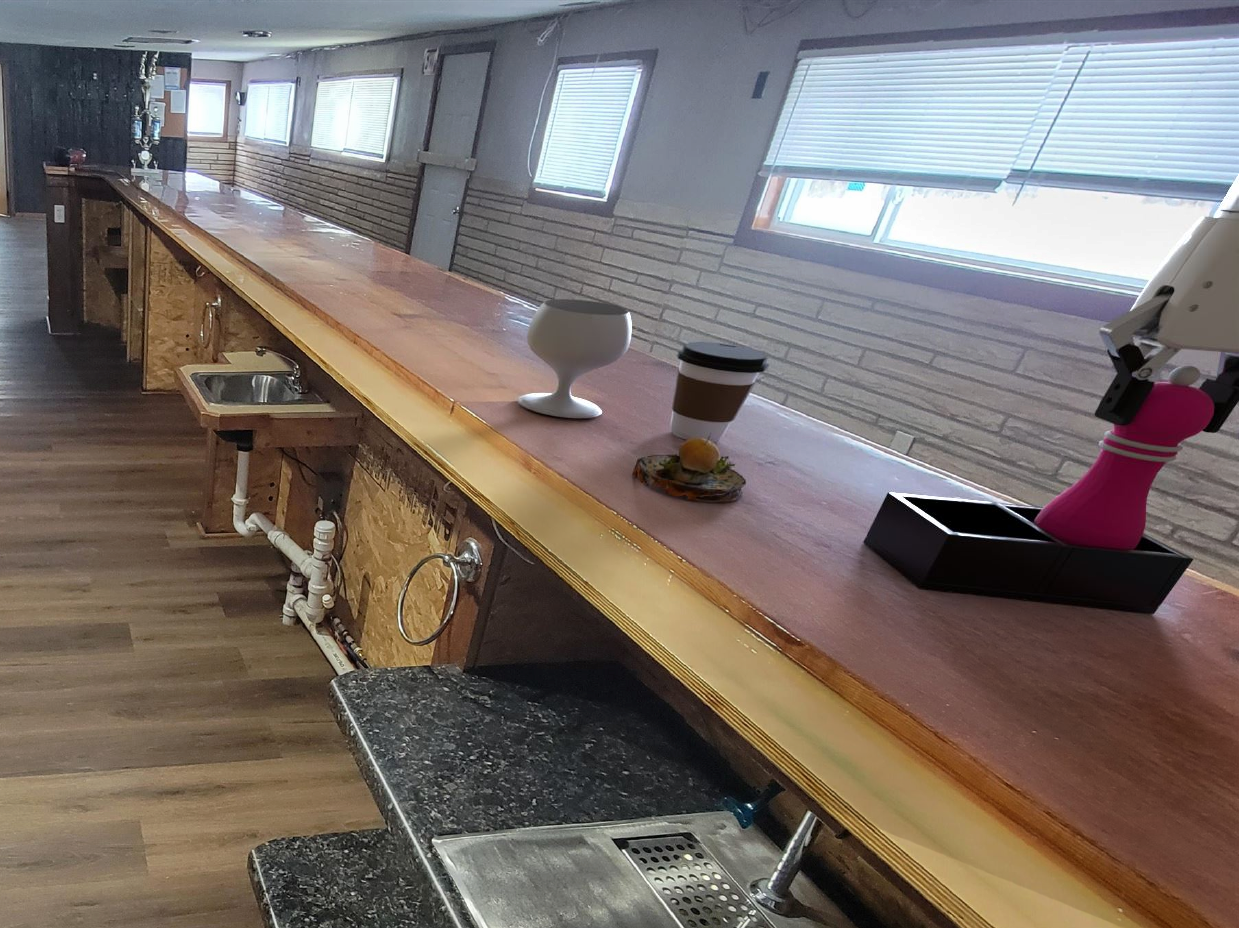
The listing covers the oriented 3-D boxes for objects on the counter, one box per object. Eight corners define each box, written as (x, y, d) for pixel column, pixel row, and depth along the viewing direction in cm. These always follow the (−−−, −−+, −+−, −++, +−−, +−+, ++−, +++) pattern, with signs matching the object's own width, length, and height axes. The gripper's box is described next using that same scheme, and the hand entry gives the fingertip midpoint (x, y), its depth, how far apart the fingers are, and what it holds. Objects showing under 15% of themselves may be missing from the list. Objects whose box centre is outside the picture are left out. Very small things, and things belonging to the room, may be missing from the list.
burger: (749, 484, 102) (773, 425, 98) (731, 513, 94) (756, 450, 90) (645, 459, 108) (663, 403, 105) (620, 484, 100) (639, 424, 96)
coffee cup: (658, 418, 125) (685, 337, 119) (741, 434, 119) (774, 350, 113) (646, 436, 117) (675, 350, 111) (735, 454, 111) (769, 365, 105)
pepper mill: (1068, 556, 84) (1195, 358, 74) (1132, 591, 78) (1279, 380, 68) (993, 551, 85) (1109, 353, 75) (1050, 585, 78) (1185, 374, 68)
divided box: (1071, 564, 86) (1104, 512, 83) (1154, 614, 77) (1194, 558, 74) (862, 542, 88) (887, 492, 85) (919, 588, 79) (949, 534, 76)
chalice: (613, 428, 120) (645, 321, 112) (511, 415, 123) (536, 310, 116) (602, 401, 131) (631, 303, 124) (510, 390, 135) (532, 294, 127)
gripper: (1373, 204, 67) (1226, 420, 76) (1131, 192, 69) (1016, 404, 78) (1481, 212, 61) (1307, 447, 70) (1210, 199, 63) (1075, 428, 72)
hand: (1154, 422), depth 74 cm, fingers closed on pepper mill, 6 cm apart
